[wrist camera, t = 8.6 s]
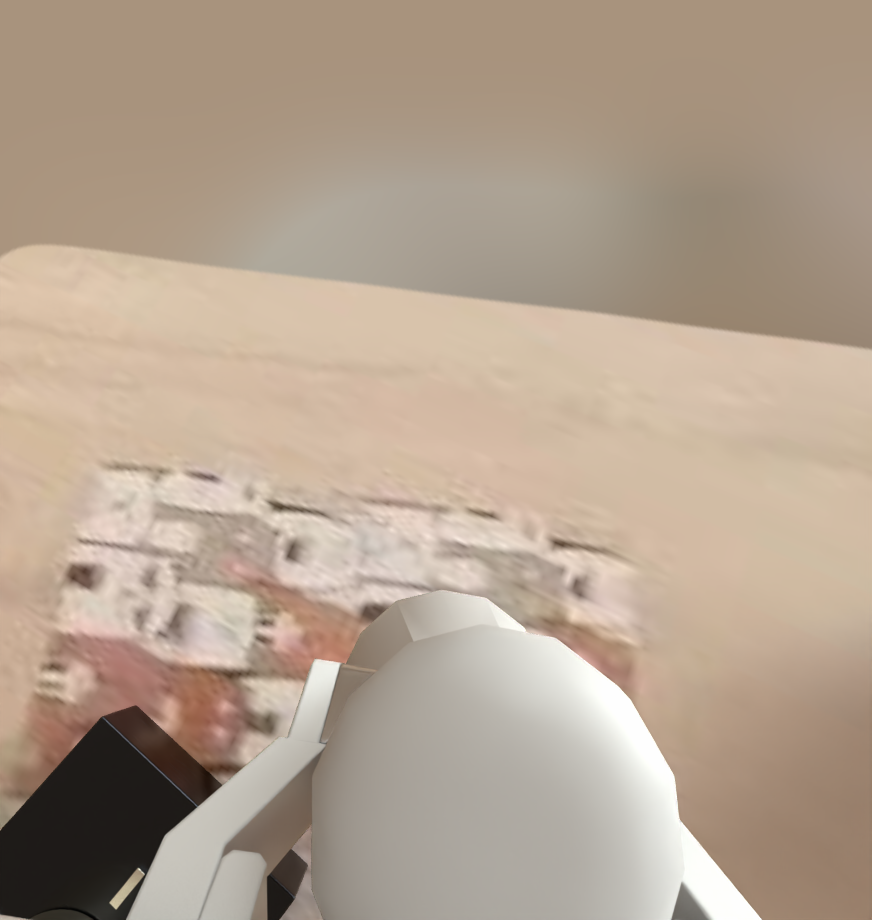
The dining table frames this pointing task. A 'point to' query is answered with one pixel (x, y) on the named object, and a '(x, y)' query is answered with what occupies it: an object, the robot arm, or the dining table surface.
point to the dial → (61, 915)
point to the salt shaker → (488, 780)
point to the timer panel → (110, 824)
